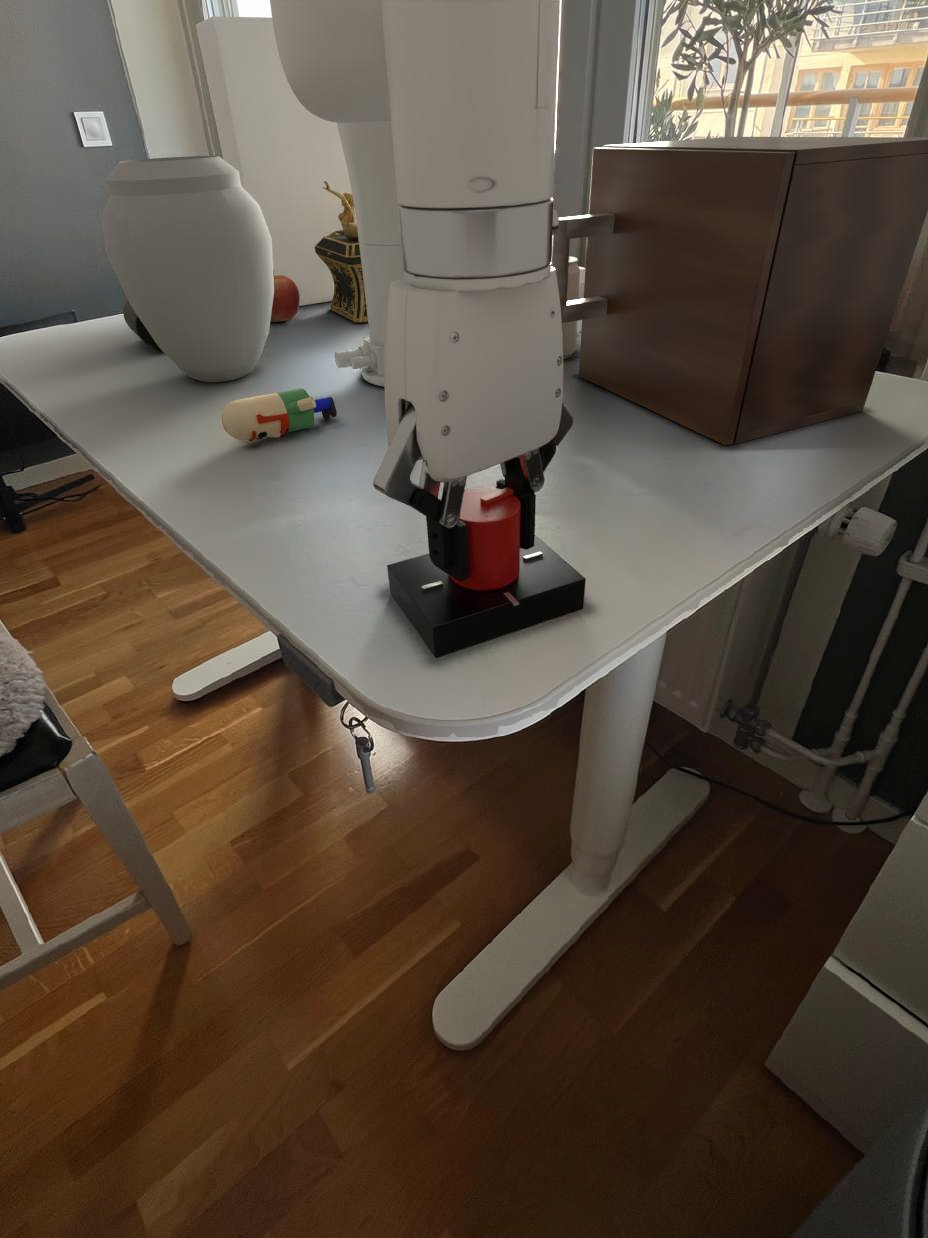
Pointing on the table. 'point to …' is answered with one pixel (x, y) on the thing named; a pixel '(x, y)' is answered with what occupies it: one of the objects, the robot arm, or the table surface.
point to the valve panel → (484, 599)
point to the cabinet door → (675, 276)
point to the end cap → (138, 326)
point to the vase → (192, 261)
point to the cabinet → (828, 272)
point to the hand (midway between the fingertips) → (483, 553)
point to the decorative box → (345, 263)
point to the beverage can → (572, 294)
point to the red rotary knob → (491, 537)
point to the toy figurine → (274, 414)
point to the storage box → (275, 147)
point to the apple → (284, 299)
